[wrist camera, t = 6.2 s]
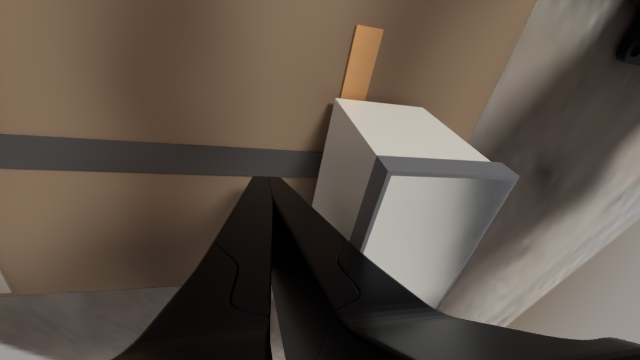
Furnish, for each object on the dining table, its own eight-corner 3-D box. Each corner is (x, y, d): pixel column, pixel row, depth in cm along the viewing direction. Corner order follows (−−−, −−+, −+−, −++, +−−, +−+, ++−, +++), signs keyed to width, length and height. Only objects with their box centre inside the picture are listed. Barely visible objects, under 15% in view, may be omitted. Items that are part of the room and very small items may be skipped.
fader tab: (426, 104, 10) (520, 176, 7) (380, 225, 13) (431, 318, 10) (332, 94, 9) (388, 171, 6) (304, 226, 12) (332, 330, 9)
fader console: (493, -7, 11) (539, 0, 9) (389, 243, 17) (406, 274, 16) (-461, -238, 5) (-777, -327, 4) (-97, 258, 12) (-152, 308, 10)
